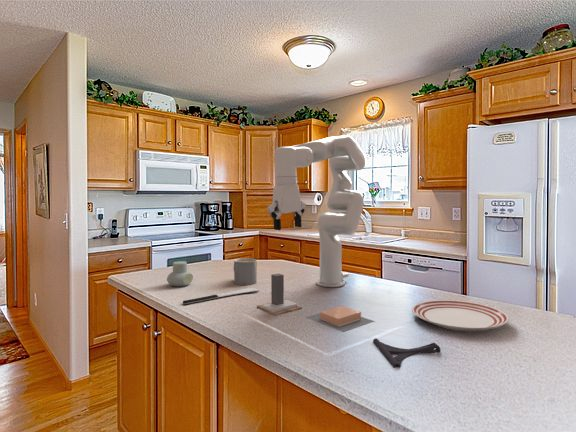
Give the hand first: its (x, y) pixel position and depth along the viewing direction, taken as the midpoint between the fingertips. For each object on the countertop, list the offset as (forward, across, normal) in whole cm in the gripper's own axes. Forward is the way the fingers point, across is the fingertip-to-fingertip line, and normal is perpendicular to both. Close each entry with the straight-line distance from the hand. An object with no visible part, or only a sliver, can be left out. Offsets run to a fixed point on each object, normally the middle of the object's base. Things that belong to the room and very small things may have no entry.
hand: (288, 228), depth 136 cm
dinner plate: (+28, -26, +51) cm, 64 cm away
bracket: (+27, +6, +54) cm, 61 cm away
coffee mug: (+28, -2, -36) cm, 45 cm away
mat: (+27, +2, +27) cm, 38 cm away
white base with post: (+26, +10, +7) cm, 28 cm away
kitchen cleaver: (+27, +18, -22) cm, 39 cm away
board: (+26, +10, +6) cm, 29 cm away
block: (+25, +2, +24) cm, 34 cm away
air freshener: (+27, +23, -48) cm, 59 cm away
